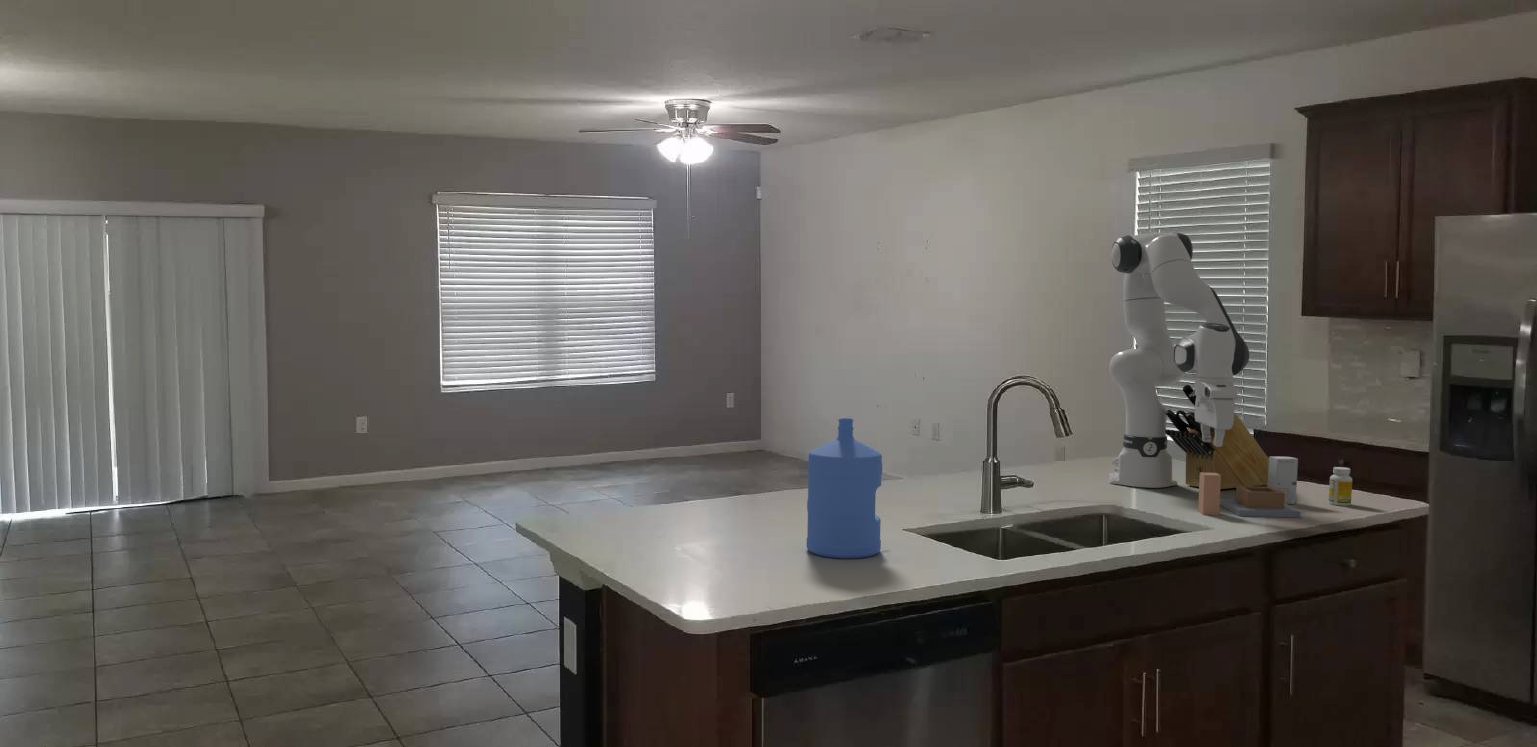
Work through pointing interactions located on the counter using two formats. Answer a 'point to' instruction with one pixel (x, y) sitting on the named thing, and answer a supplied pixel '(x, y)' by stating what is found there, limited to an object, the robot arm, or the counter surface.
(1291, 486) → the skincare box
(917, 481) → the counter surface
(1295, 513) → the collar socket
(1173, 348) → the robot arm
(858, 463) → the water jug
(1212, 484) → the terracotta peg
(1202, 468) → the knife block
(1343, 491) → the supplement bottle
